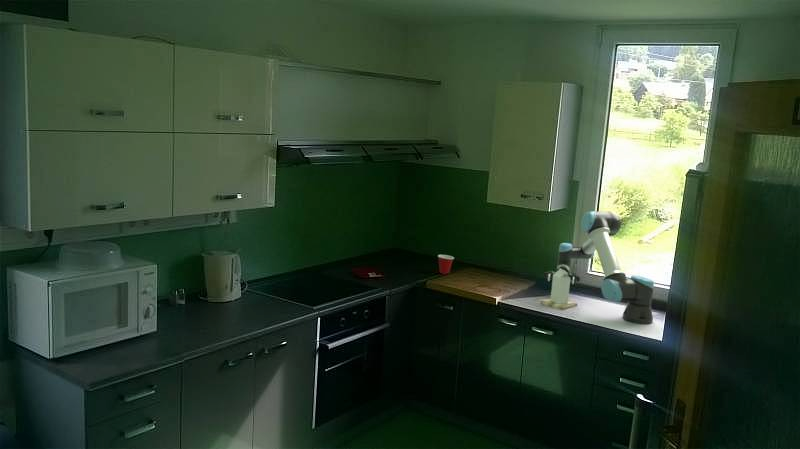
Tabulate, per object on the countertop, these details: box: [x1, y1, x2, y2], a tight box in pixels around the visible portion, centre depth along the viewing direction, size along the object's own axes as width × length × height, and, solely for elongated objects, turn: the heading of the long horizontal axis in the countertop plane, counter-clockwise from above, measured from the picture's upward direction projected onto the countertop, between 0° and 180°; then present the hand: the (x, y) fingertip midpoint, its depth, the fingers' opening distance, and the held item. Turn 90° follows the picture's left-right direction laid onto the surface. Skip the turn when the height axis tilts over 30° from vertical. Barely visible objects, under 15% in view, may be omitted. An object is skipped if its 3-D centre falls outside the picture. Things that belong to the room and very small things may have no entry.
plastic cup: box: [437, 254, 455, 275], centre depth 412 cm, size 11×11×12 cm
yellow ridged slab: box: [540, 297, 578, 311], centre depth 357 cm, size 15×14×2 cm
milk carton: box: [550, 268, 571, 304], centre depth 355 cm, size 7×7×19 cm
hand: (560, 280), depth 359 cm, fingers open, 13 cm apart
